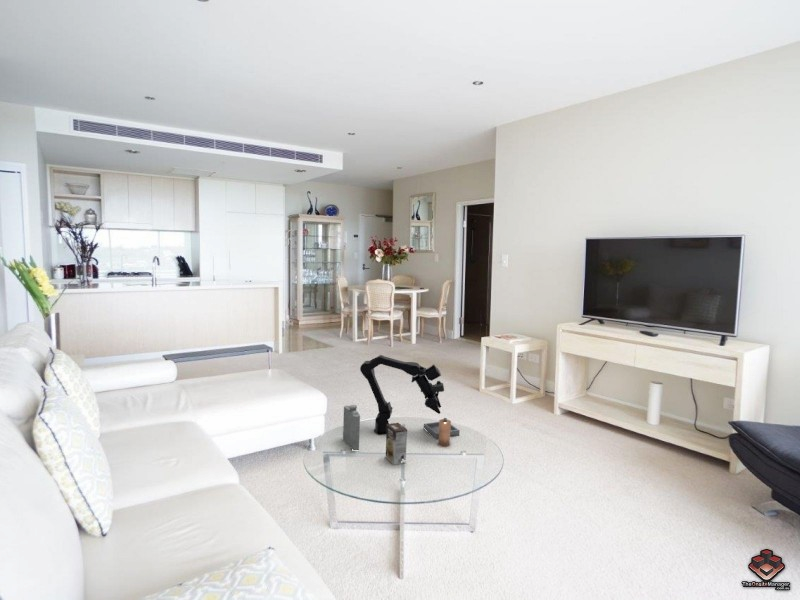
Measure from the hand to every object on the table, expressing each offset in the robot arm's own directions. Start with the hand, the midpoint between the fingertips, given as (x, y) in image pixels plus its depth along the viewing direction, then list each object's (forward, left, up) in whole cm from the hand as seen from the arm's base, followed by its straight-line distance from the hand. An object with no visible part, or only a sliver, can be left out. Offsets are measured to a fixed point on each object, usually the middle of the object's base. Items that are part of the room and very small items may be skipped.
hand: (440, 410), depth 242 cm
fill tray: (+4, +5, -14) cm, 16 cm away
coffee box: (-32, -16, -15) cm, 39 cm away
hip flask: (-46, +6, -15) cm, 48 cm away
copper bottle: (-2, -9, -14) cm, 17 cm away
